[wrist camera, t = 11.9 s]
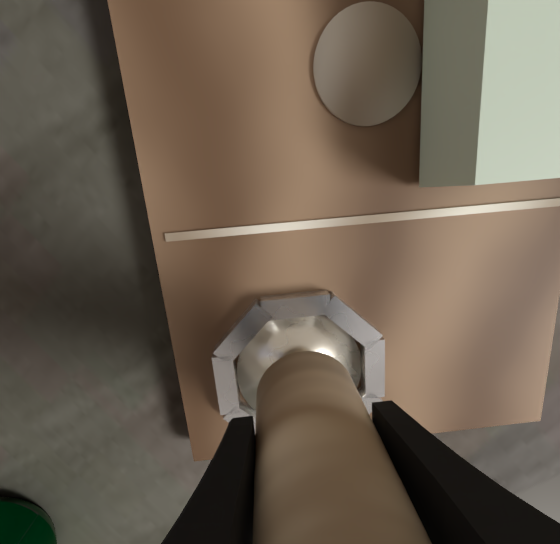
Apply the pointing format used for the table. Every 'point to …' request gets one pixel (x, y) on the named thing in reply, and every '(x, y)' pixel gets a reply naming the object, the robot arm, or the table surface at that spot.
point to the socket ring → (295, 346)
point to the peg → (323, 462)
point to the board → (330, 203)
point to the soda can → (24, 523)
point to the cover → (490, 92)
